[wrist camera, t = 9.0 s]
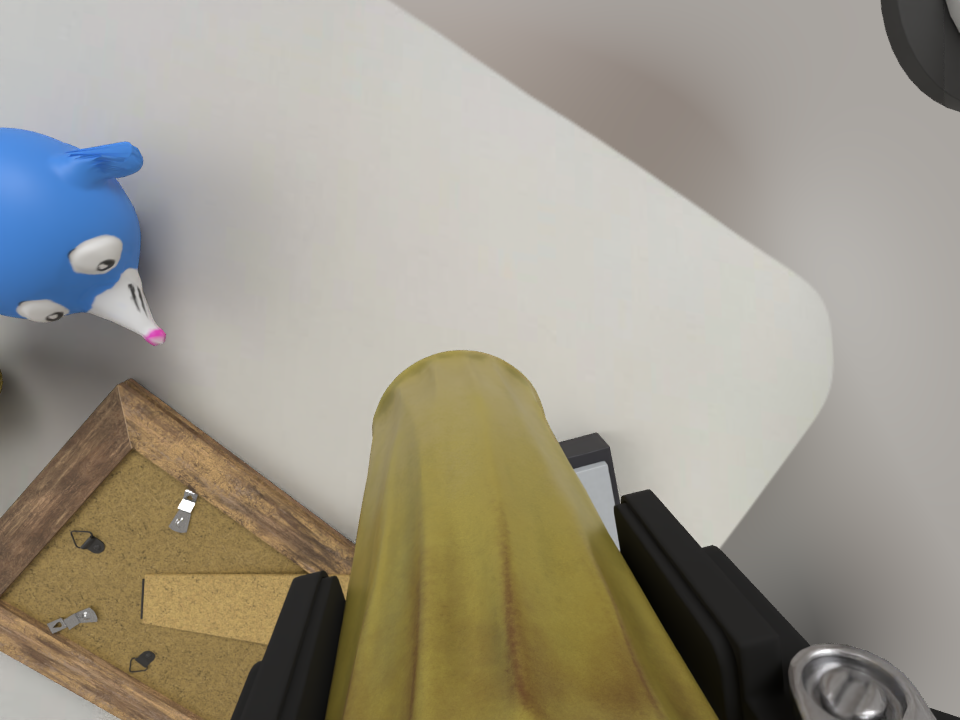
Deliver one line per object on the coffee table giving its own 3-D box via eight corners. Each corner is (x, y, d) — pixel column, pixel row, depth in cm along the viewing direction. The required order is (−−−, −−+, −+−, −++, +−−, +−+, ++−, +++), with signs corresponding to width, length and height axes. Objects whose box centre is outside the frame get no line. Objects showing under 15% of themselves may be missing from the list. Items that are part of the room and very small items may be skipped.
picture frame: (429, 598, 37) (132, 376, 31) (429, 616, 35) (115, 384, 29) (255, 770, 38) (-55, 590, 33) (248, 796, 37) (-82, 610, 31)
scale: (596, 431, 35) (613, 449, 32) (625, 582, 38) (643, 612, 35) (421, 477, 34) (421, 500, 32) (464, 627, 37) (468, 661, 34)
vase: (405, 532, 19) (358, 1270, 6) (346, 380, 18) (80, 879, 4) (562, 480, 20) (894, 1074, 6) (518, 325, 18) (823, 625, 4)
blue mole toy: (127, 397, 31) (24, 454, 23) (-56, 245, 28) (-247, 250, 20) (270, 258, 30) (215, 267, 22) (95, 87, 27) (-41, 25, 19)
